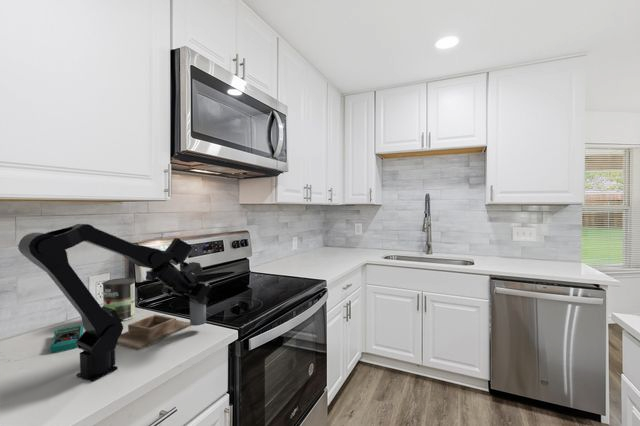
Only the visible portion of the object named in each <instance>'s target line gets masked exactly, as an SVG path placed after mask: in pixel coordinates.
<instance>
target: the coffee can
mask: <svg viewBox="0 0 640 426" xmlns="http://www.w3.org/2000/svg"><path fill="white" fill-rule="evenodd" d="M135 283H136V278H132V277H120V278H118V277H117V278H113V279H108V280H105V281H103V282H102V290H103V291H102V294H103V296H102V298H103V302H102V303H103V306H105V307H108V308H111V309H114V310H115V311H116V312H117V314H118V316H119V318H120V319H122V320H123V322H126V321H129V320H131V319H133V318H135V317H136V295H135V294H136V292H135V291H136V290H135V289H136V288H135V286H136V285H135ZM134 316H135V317H134Z"/></svg>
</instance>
